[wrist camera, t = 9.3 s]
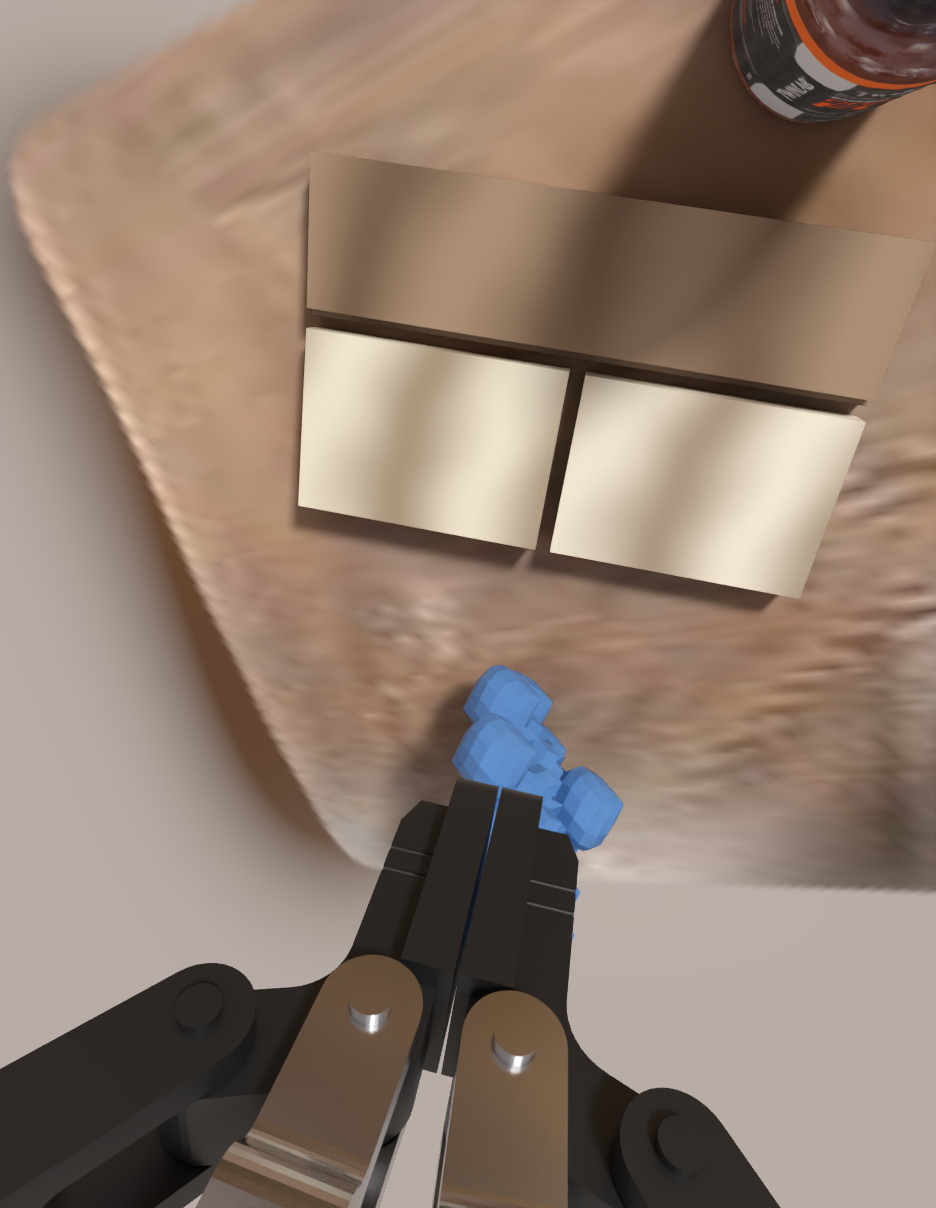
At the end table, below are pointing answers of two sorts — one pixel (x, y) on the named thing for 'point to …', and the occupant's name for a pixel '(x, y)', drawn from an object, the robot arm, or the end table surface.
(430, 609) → the end table surface
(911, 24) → the supplement bottle
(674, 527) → the plank
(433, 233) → the laid plank
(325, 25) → the end table surface
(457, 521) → the plank
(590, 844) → the grapes
